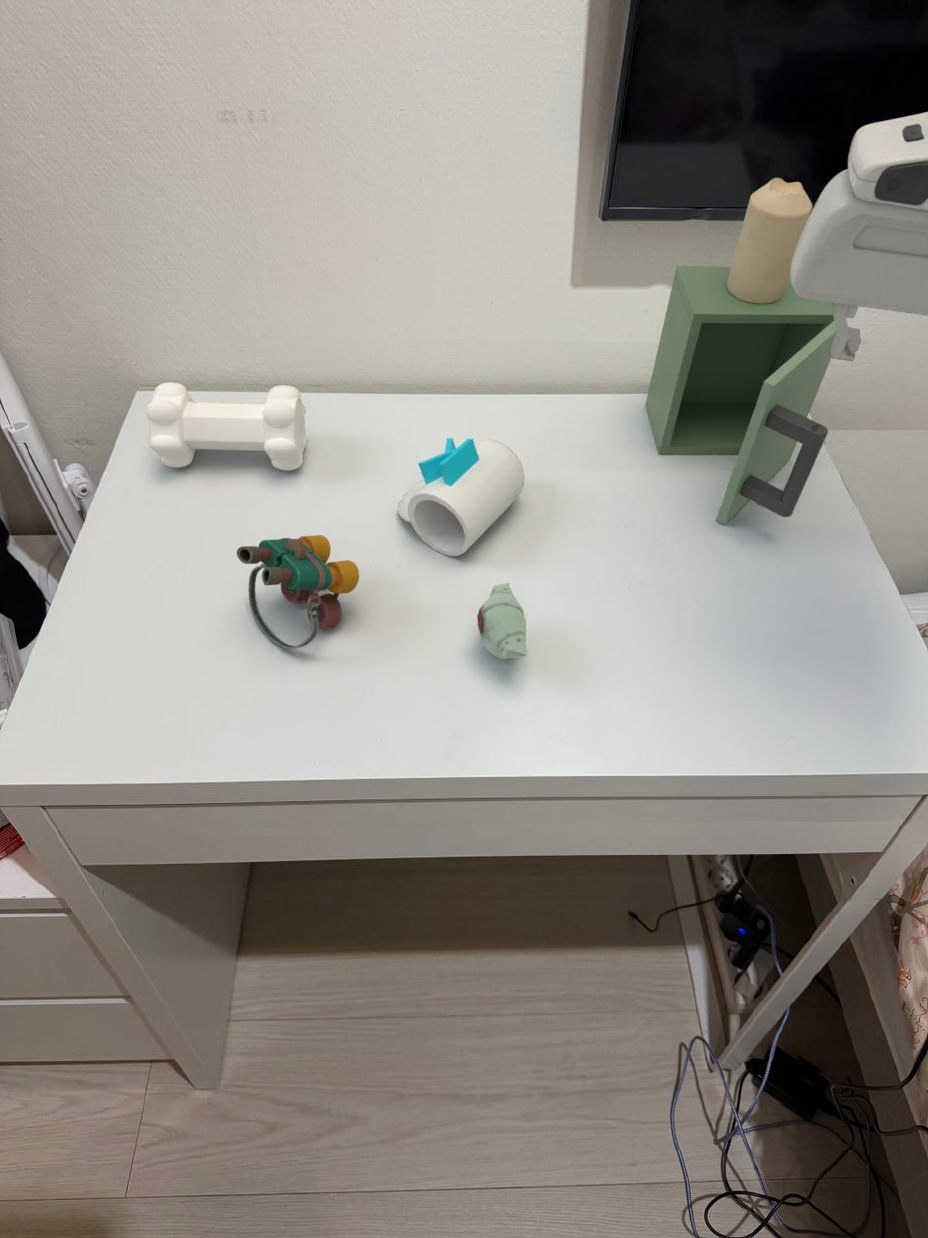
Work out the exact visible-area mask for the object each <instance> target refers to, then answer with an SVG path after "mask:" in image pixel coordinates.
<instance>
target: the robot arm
mask: <svg viewBox="0 0 928 1238" xmlns="http://www.w3.org/2000/svg"><path fill="white" fill-rule="evenodd" d="M790 279H791V284H792V286H793V288H794V290H795V292H796V294H797V296H798V297H800V298H803V299H810V300H818V301H825V302H832V307H833V317H834V322H835V326H836V330H837V333H836V335H835V338H834V340H833V343H832V347H831V359H834V360H841V361H849V362H854V360H855V357H856V352H858V351H859V348H860V347H861V344H862V338H861V336H860V335H861V329H860V328H857V327H851V326H849V322H848V319H853V318H855V316H856V314H857V312H858V310H859V307H862V308H869V309H877V310H884V311H890V312H898V313H905V314H912V315H920V316H928V111H926V112H921V113H917V114H912V115H907V116H903V117H898V118H892V119H887V120H883V121H877V122H873V123H869V124H865V125H863V126H861V127H860V128H858V129H857V130H856V132H855V133H854V135H853V138H852V140H851V144H850V147H849V152H848V156H847V168H846V169H844V170H842V171H841V172H839V173H838V174H836V175H835V176H833V178H831V180H830V181H829V182H828V183H827V184H826V185H825V186H824V189H823V190H822V191H821V193H820V195H819V197H818V198H817V200H816V202H815V204H814V206H813V207H812V209H811V212H810V215H809V218H808V220H807V223H806V225H805V227H804V229H803V232H802V234H801V236H800V239H799V241H798V244H797V247H796V249H795V252H794V255H793V258H792V262H791V270H790Z"/></svg>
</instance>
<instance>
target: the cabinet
mask: <svg viewBox="0 0 928 1238" xmlns="http://www.w3.org/2000/svg"><path fill="white" fill-rule="evenodd" d="M730 269H731V266H696V265H695V266H693V265H691V266H690V265H689V266H685V265H683V266H681V265H678V266H677V265H676V268H675V272H674V276H673V281H672V285H671V289H670V294H669V297H668V303H667V306H666V311H665V315H664V321H663V324H662V329H661V333H660V338H659V341H658V342H659V343H658V347H657V350H656V356H655V361H654V365H653V369H652V374H651V377H650V383H649V387H648V391H647V394H646V395H647V396H646V400H645V403H644V404H645V410H646V413H647V417H648V420H649V424H650V427H651V431H652V434H653V440H654V443H655V446H656V450H657V453H658V455H739V452H740V450H741V447H742V444H743V441H744V438H745V435H746V432H747V429H748V426H749V424H750V421H751V418H752V415H753V412H754V409H755V406H756V403H757V400H758V398H759V395H760V392H761V389H762V386H763V383H764V381H765V380H766V379H768V378H769V377H770V376H771V375H772V374H773V373H774V372H776V371H777V370H778V369H779V368H780V367H781V366H782V365H784V364H785V363H786V362H787V361H788V360H789V359H790V358H792V357H793V356H794V355H795V354H796V353H797V352H799V351H800V350H801V349H802V348H803V347H804V346H805V345H807V344H808V343H809V342H810V341H811V340H812V339H813V338H815V337H816V336H817V335H818V334H819V333H820V332H822V331H823V330H824V329H825V328H826V327H827V326H828V325H830V324H831V323H832V322H833V321H834V317H833V307H832V302H825V301H818V300H810V299H803V298H800V297H798V296H797V294H796V292H795V290H794V288H793V286H792V284H791V279H790V275H789V278H788V281H787V284H786V287H785V290H784V292H783V295H782V296H781V298H780V299H778V300H777V301H775V302H771V303H763V304H760V303H751V302H747V301H744V300H741V299H739V298H737V297H735V296H734V295H732V294H731V293H730V292H729V290H728V288H727V281H728V277H729V273H730Z"/></svg>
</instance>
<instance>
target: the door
mask: <svg viewBox="0 0 928 1238" xmlns="http://www.w3.org/2000/svg"><path fill="white" fill-rule="evenodd" d="M836 333H837V330H836V326H835V322H834V321H833V322H832V323H831V324H830V325H828V326H827V327H826V328H825V329H824V330H823V331H822V332H820V333H819V334H818V335H817V336H816V337H815V338H813V339H812V340H811V341H810V342H809V343H808V344H807V345H805V346H804V347H803V348H802V349H801V350H800V351H799V352H797V353H796V354H795V355H794V356H793V357H792V358H790V359H789V360H788V361H787V362H786V363H785V364H784V365H782V366H781V367H780V368H779V369H778V370H777V371H776V372H774V373H773V374H772V375H771V376H770V377H769V378H768V379H766V380H765V381H764V383H763V386H762V389H761V392H760V395H759V398H758V400H757V403H756V406H755V409H754V412H753V415H752V418H751V421H750V424H749V426H748V429H747V432H746V435H745V438H744V441H743V444H742V447H741V450H740V452H739V454H737V458H736V461H735V464H734V467H733V470H732V472H731V476H730V479H729V482H728V485H727V488H726V491H725V493H724V496H723V500H722V501H721V505H720V507H719V510H718V514H717V516H716V519H715V521H717V522H718V523H720V524H721V525H724V526H725V525H726V524H727V523H728V522H729V521H730V520H731V519H732V518H733V517H734V516H735V515H736V514H737V513H738V512H739V511H740V510H741V509H742V508H743V507H744V506H745V505H746V504H747V503H748V502H749V501H751V502H754V503H755V504H757V505H759V506H761V507H763V508H765V509H766V510H768V511H770V512H772V513H773V514H776V515H778V516H780V517H782V518H789V517H791V516H792V515H793V513H794V511H795V509H796V506H797V504H798V502H799V500H800V498H801V495H802V492H803V490H804V488H805V486H806V483H807V481H808V479H809V476H810V474H811V472H812V470H813V467H814V465H815V463H816V460H817V458H818V456H819V454H820V452H821V449H822V448H823V445H824V443H825V440H826V438H827V436H828V433H829V430H828V428H827V427H826V426H825V425H823V424H821V423H819V422H817V421H814V420H812V419H810V418H808V416H809V413H810V412H811V410H812V409H811V408H812V406H813V404H814V402H815V398H816V396H817V394H818V392H819V389H820V387H821V385H822V383H823V380H824V377H825V375H826V372H827V369H828V367H829V365H830V362H831V359H832V358H831V347H832V343H833V340H834V338H835V335H836ZM797 443H799V444H802V445H801V447H800V449H799V452H798V454H797V457H796V459H795V461H794V464H793V466H792V469H791V471H790V474H789V476H788V478H787V480H786V483H785V485H784V489H783V490H782V489H780V488H779V487H776V486H775V485H772V484H770V483H769V481H770V480H771V479H772V478H773V477H774V476H775V475H776V474H777V473H778V472H779V471H780V470H781V469H782V468H783V467H784V466H785V465H786V464H788V462H789V461H790V460H791V458H792V455H793V453H794V451H795V448H796V446H797Z"/></svg>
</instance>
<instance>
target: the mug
mask: <svg viewBox="0 0 928 1238" xmlns="http://www.w3.org/2000/svg"><path fill="white" fill-rule="evenodd" d="M418 467H419V470H420V472H421V476H422V478H423V480H421V481H420V482H418V483H416V484H415V485H414V486H413V487H411V488H410V489H409V490H407V492H406V493H404V495H403V496H402V497H401V499H400V502H399V503H398V505H397V506H398V508H397V514H398V515H399V517H400V518H401V519H402V520H404V521H405V522H408V523H410V525H411V526H412V528H413V529H414V531H415V533H416V534H417V535H418V536H419V538H420V539H421V540H422V541H423V542H424V543H425V544H426V545H428V547H430V548H431V549H433V550H434V551H436V552H438V553H440V554H443V555H445V556H448V557H449V556H450V557H458V556H461V555H462V554H464V553H466V551H468V550H469V548H471V546H473V544H474V543H475V542H477V540H478V539H479V538H480V537H481V536H482V535H483V534H484V533H486V531H487V530H489V528H490V527H491V526H492V525H493V524H494V523H495V522H496V521H497V520H498V519H499V517H501V516H502V514H503V513H504V512H505V511H506V510H508V508H510V506H512V505H513V503H514V502H515V501H516V500H517V499H518V497H519V496H520V495H521V493H522V490H523V488H524V484H525V471H524V467H523V464H522V461H521V460H520V458H519V456H518V454H516V453H515V451H514V450H513V449H512V448H511V447H510V446H508V445H507V444H505V443H503V442H501V441H498V440H494V439H480V440H477V441H474V439H473V438H467V439H465V441H463V442H462V443H461V444H460V445H459V446H458V447H456V444H455V441H454V439H453V437H447V438H446V442H445V448H444V452H442V453H440V454H438V455H435V456H432V457H431V458H428V459H425V460H423V461H420V462H418Z"/></svg>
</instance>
